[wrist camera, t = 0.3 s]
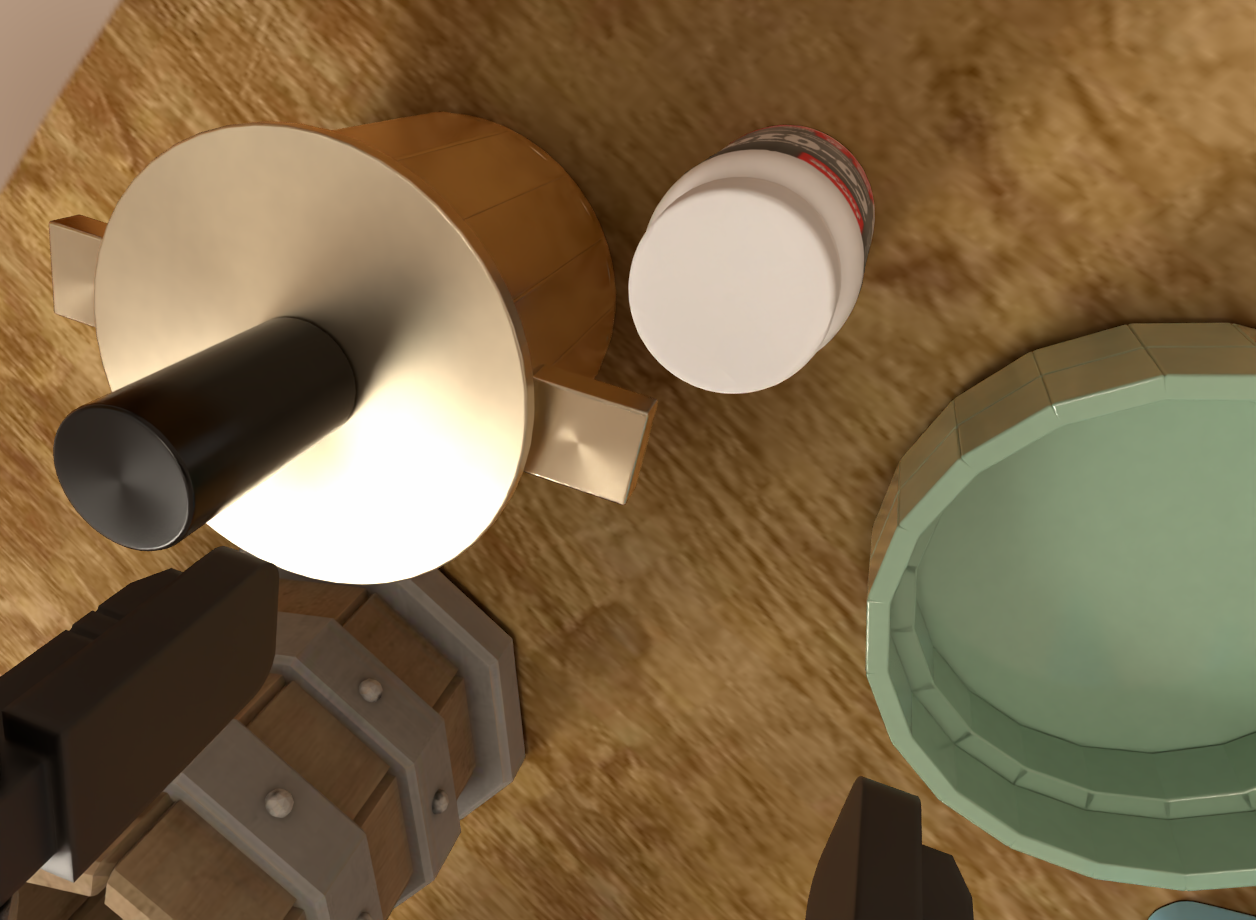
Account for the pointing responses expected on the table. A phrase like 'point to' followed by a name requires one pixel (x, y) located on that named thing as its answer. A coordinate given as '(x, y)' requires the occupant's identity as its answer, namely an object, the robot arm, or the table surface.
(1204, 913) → the vase
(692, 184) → the pill bottle
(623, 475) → the pot
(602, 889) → the table surface
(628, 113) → the table surface
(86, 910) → the tankard
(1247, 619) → the bowl
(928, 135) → the table surface
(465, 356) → the pot lid
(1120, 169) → the table surface
